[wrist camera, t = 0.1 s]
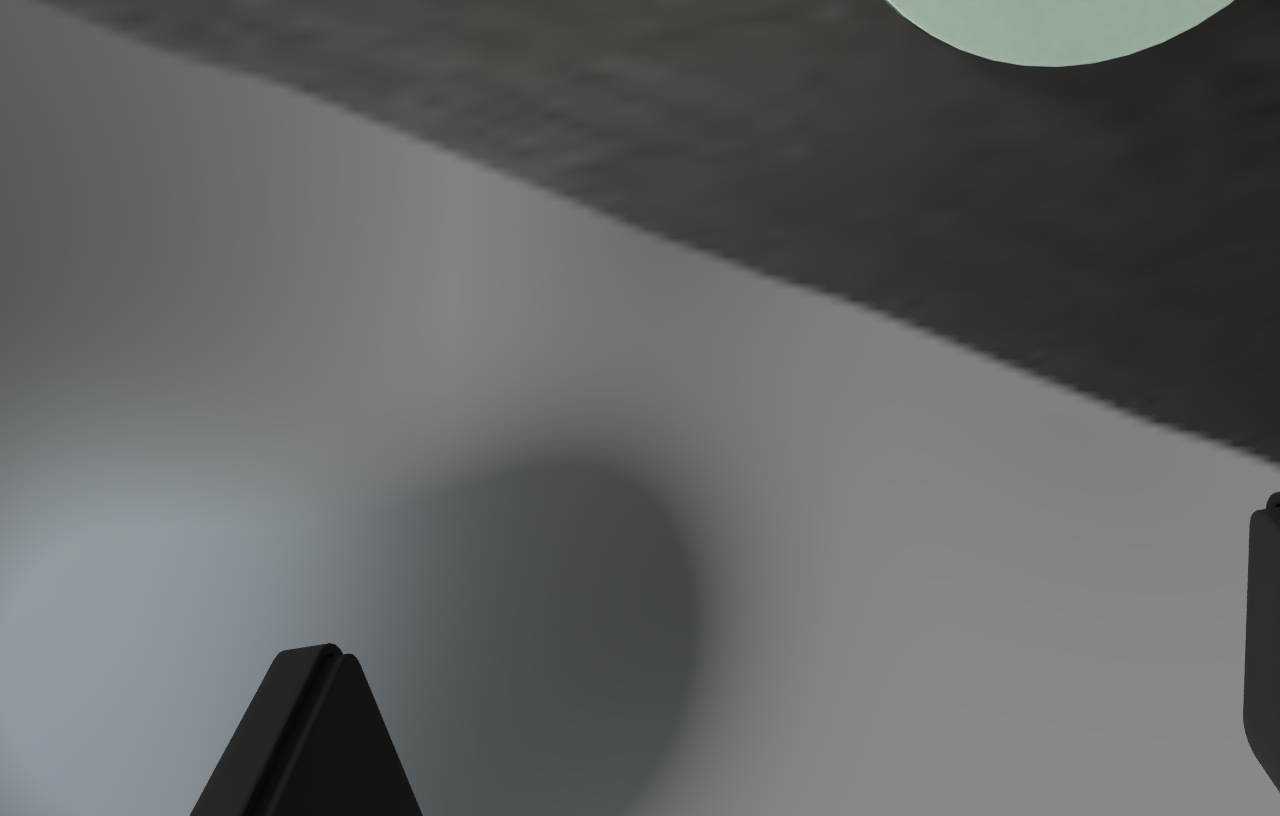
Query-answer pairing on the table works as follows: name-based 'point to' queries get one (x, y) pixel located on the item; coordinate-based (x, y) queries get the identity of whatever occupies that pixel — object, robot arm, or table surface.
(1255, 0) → the table surface
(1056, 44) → the plate
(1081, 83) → the table surface
